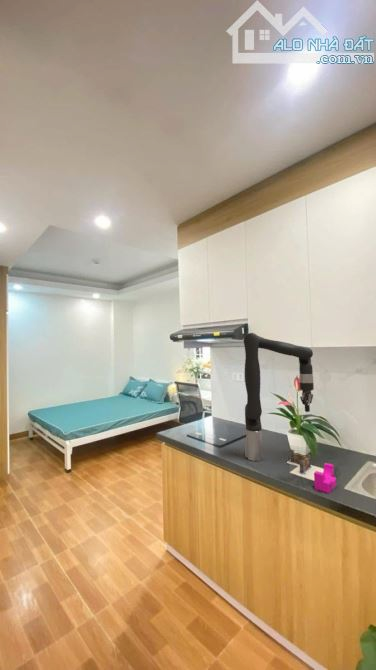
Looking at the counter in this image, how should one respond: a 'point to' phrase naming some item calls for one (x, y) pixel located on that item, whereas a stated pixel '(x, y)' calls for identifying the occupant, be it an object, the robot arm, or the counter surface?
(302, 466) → the fence panel
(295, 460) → the fence fixed
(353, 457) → the counter surface
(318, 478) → the toy block
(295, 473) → the card
